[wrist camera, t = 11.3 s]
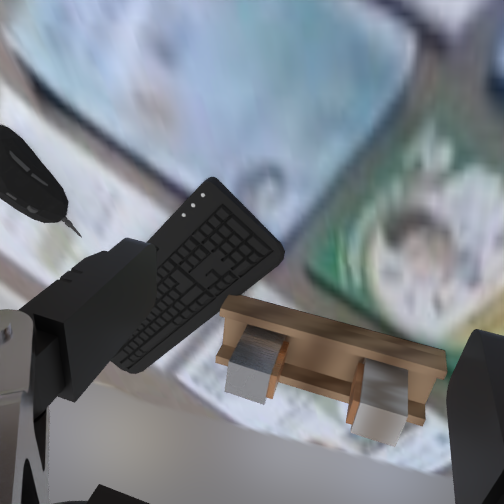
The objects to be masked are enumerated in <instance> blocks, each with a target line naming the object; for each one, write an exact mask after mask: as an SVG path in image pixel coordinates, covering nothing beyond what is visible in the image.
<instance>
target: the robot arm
mask: <svg viewBox="0 0 504 504" xmlns="http://www.w3.org/2000/svg"><path fill="white" fill-rule="evenodd" d="M156 295H157V253H156V248H155V246H154V245H153V244H150V243H146V242H142V241H138V240H134V239H130V238H125V239H123V240H122V241H121V242H119V243H118V244H117V245H116V246H114V247H113V248H112V249H111V250H110V251H108V252H107V251H101V252H99V253H96V254H94V255H91V256H89V257H86V258H84V259H83V260H82V261H81V262H79V263H78V264H77V265H75V266H74V267H73V268H72V269H71V271H68V272H66V273H65V274H64V275H63V276H61V277H60V280H56V281H55V282H54V283H52V284H51V285H50V286H49V287H47V288H46V289H45V290H43V291H42V292H41V293H40V294H38V295H37V296H36V297H34V298H33V299H32V300H31V301H29V302H28V303H27V304H26V305H24V306H23V307H22V308H20V309H19V310H10V309H4V310H0V504H50V500H49V486H48V474H49V423H50V413H49V405H50V404H51V402H53V400H54V399H55V398H56V397H57V396H58V397H61V398H63V399H67V400H69V401H72V402H76V401H77V399H78V398H79V397H80V396H81V395H82V394H83V392H84V391H85V390H86V389H87V388H88V386H89V385H90V384H91V383H92V382H93V381H94V379H95V378H96V377H97V376H98V375H99V373H100V372H101V371H102V370H103V369H104V367H105V366H106V365H107V364H108V363H109V361H110V360H111V359H112V358H113V357H114V356H115V354H116V353H117V352H118V351H119V350H120V348H121V347H122V346H123V345H124V344H125V342H126V341H127V340H128V339H129V338H130V337H131V335H132V334H133V333H134V332H135V331H136V329H137V328H138V327H139V326H140V325H141V323H142V322H143V321H144V320H145V319H146V318H147V316H148V315H149V314H150V312H151V310H152V308H153V306H154V303H155V300H156ZM446 404H447V416H448V427H449V438H450V449H451V460H452V471H453V481H454V493H455V503H456V504H504V336H502V335H498V334H494V333H490V332H486V331H482V330H479V329H475V330H474V331H473V332H472V333H471V335H470V337H469V339H468V341H467V343H466V346H465V348H464V350H463V352H462V354H461V356H460V359H459V361H458V363H457V365H456V367H455V369H454V371H453V374H452V376H451V378H450V381H449V385H448V390H447V398H446ZM55 504H149V503H147V502H144V501H142V500H139V499H136V498H134V497H131V496H129V495H126V494H124V493H121V492H118V491H116V490H113V489H111V488H108V487H106V486H103V485H100V484H99V485H98V486H97V488H96V489H95V491H94V492H93V494H92V496H91V497H90V499H89V500H88V501H67V502H61V503H55Z"/></svg>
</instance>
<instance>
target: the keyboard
mask: <svg viewBox="0 0 504 504" xmlns="http://www.w3.org/2000/svg"><path fill="white" fill-rule="evenodd" d="M147 243H150V244H153V245H154V246H155V248H156V253H157V295H156V300H155V303H154V306H153V308H152V310H151V312H150V314H149V315H148V316H147V318H146V319H145V320H144V321H143V322H142V323H141V325H140V326H139V327H138V328H137V329H136V331H135V332H134V333H133V334H132V335H131V337H130V338H129V339H128V340H127V341H126V342H125V344H124V345H123V346H122V347H121V348H120V350H119V351H118V352H117V353H116V354H115V356H114V357H113V358H112V359H111V360H110V361H111V362H113V363H114V364H115V365H116V366H118V367H119V368H120V369H122V370H124V371H127V372H129V373H132V374H136V373H139V372H142V371H144V370H145V369H146V368H147V367H149V366H150V365H151V364H153V363H154V362H155V361H156V360H158V359H159V358H160V357H161V356H163V355H164V354H165V353H167V352H168V351H169V350H170V349H172V348H173V347H174V346H176V345H177V344H178V343H179V342H181V341H182V340H183V339H185V338H186V337H187V336H188V335H190V334H191V333H192V332H194V331H195V330H196V329H197V328H199V327H200V326H201V325H202V324H204V323H205V322H206V321H208V320H209V319H210V318H211V317H213V316H214V315H215V314H217V313H218V312H219V311H220V308H221V306H222V305H223V303H224V301H225V300H226V298H227V297H228V295H234V296H238V295H241V294H242V293H243V292H245V291H246V290H247V289H249V288H250V287H251V286H252V285H254V284H255V283H256V282H258V281H259V280H260V279H261V278H263V277H264V276H265V275H267V274H268V273H269V272H270V271H272V270H273V269H274V268H275V267H277V266H278V265H279V264H280V263H281V261H282V260H283V258H284V253H285V251H284V248H283V246H282V244H281V243H280V242H279V241H278V240H277V239H276V238H275V237H274V236H273V235H272V234H271V233H270V232H269V231H268V230H267V229H266V228H265V227H264V226H263V225H262V224H261V223H260V222H259V220H258V219H257V218H256V217H255V216H254V215H253V214H252V213H251V212H250V211H249V210H248V209H247V208H246V207H245V206H244V205H243V204H242V203H241V202H240V201H239V200H238V199H237V198H236V197H235V196H234V195H233V194H232V193H231V192H230V191H229V190H228V189H227V188H226V187H225V186H224V185H223V184H222V183H221V182H220V181H219V180H218V179H217V178H215V177H210V178H208V179H207V180H206V181H204V182H203V183H202V184H201V185H200V186H199V187H198V188H197V189H196V191H195V192H194V193H193V194H192V195H191V196H190V197H189V198H188V199H187V200H186V201H185V202H184V203H183V204H182V205H181V207H180V208H179V209H178V210H177V211H176V212H175V213H174V214H173V215H172V216H171V217H170V218H169V219H168V220H167V221H166V222H165V224H164V225H163V226H162V227H161V228H160V229H159V230H158V231H157V232H156V233H155V234H154V235H153V236H152V237H151V238H150V240H149V241H148V242H147Z"/></svg>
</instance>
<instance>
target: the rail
mask: <svg viewBox="0 0 504 504" xmlns="http://www.w3.org/2000/svg"><path fill="white" fill-rule="evenodd" d="M220 316H221V317H225V323H224V334H223V344H222V346H221V348H220V350H219V351H218V353H217V355H216V362H215V363H219V364H222V365H225V366H228V363H229V360H230V358H231V356H232V354H233V352H234V350H235V348H236V346H237V344H238V342H239V340H240V338H241V336H242V334H243V332H244V330H245V328H246V326H247V324H249V325H253V326H256V327H260V328H263V329H267V330H270V331H274V332H277V333H281V334H284V335H286V339H285V341H286V342H289V347H288V351H287V356H286V360H285V364H284V367H283V370H282V373H281V376H280V379H279V382H280V383H283V384H287V385H290V386H293V387H296V388H300V389H303V390H306V391H309V392H313V393H316V394H319V395H322V396H326V397H329V398H332V399H335V400H339V401H342V402H345V403H348V404H349V405H348V412H347V418H346V423H348V424H352V426H351V433H353V434H356V435H359V436H362V437H366V438H369V439H372V440H375V441H378V442H381V443H384V444H387V445H390V446H394V447H395V446H396V444H397V441H398V439H399V437H400V434H401V432H402V430H403V427H404V425H405V422H406V421H407V422H410V423H413V424H416V425H420V426H423V424H424V422H425V420H426V418H425V403H426V401H427V399H428V397H429V394H430V392H431V390H432V387H433V385H434V383H435V381H436V378H439V379H442V380H444V378H445V376H446V374H447V365H446V355H445V351H444V350H441V349H437V348H433V347H430V346H426V345H422V344H419V343H415V342H411V341H408V340H404V339H400V338H397V337H393V336H389V335H386V334H382V333H378V332H375V331H371V330H367V329H364V328H360V327H356V326H352V325H349V324H345V323H341V322H338V321H334V320H330V319H327V318H323V317H319V316H316V315H312V314H308V313H305V312H301V311H297V310H294V309H290V308H286V307H283V306H279V305H275V304H272V303H268V302H264V301H261V300H257V299H253V298H250V297H246V296H242V295H238V296H234V295H228V297H227V298H226V300H225V301H224V303H223V305H222V306H221V308H220Z"/></svg>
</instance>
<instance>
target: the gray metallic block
mask: <svg viewBox="0 0 504 504" xmlns="http://www.w3.org/2000/svg"><path fill="white" fill-rule="evenodd" d="M285 339H286V335H284V334H281V333H277V332H274V331H270V330H267V329H263V328H260V327H256V326H253V325H249V324H247V326H246V328H245V330H244V332H243V334H242V336H241V338H240V340H239V342H238V344H237V346H236V348H235V350H234V352H233V354H232V356H231V358H230V360H229V363H228V370H227V378H226V385H225V392H228V393H231V394H234V395H237V396H240V397H243V398H245V399H248V400H251V401H254V402H257V403H260V404H263V405H264V404H265V401H266V398H270V399H273V396H274V393H275V390H276V387H277V385H278V382H279V379H280V376H281V373H282V370H283V367H284V364H285V360H286V356H287V351H288V347H289V342H286V341H285Z"/></svg>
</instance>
